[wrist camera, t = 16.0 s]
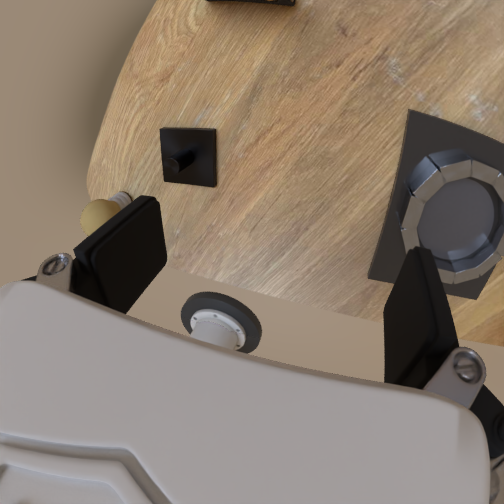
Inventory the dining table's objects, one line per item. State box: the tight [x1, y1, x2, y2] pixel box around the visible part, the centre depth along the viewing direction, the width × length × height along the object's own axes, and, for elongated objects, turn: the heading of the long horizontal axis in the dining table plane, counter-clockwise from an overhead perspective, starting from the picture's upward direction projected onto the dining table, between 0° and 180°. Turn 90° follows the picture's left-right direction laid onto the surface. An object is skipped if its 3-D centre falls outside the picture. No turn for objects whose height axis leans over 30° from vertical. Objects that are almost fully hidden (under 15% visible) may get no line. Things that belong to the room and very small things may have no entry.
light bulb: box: [80, 192, 131, 236], centre depth 42 cm, size 6×6×10 cm
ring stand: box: [160, 128, 216, 187], centre depth 36 cm, size 8×8×5 cm
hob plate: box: [368, 109, 504, 300], centre depth 31 cm, size 24×20×1 cm
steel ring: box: [398, 154, 504, 284], centre depth 29 cm, size 17×17×3 cm
